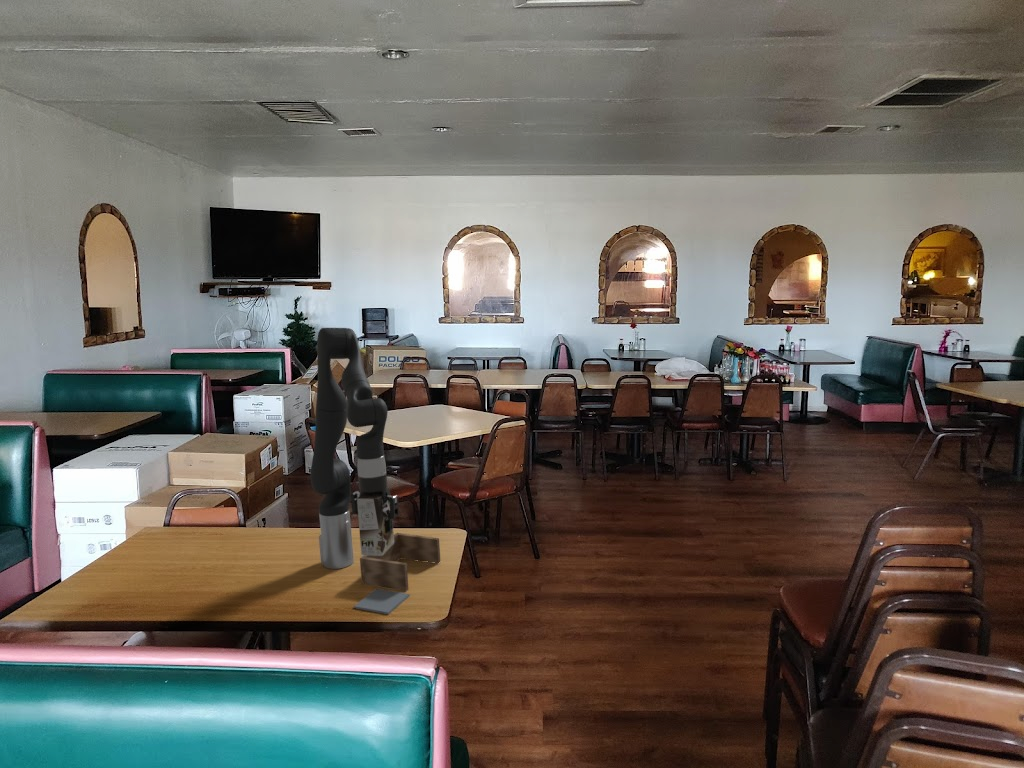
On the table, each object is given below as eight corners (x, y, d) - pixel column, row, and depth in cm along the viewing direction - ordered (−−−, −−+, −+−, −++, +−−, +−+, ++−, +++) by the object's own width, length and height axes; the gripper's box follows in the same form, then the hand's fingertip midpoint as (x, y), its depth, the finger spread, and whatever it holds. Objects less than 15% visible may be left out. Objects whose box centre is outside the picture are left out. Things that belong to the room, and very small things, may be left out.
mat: (354, 608, 189) (353, 606, 189) (376, 590, 199) (376, 588, 199) (388, 614, 185) (388, 612, 185) (409, 596, 195) (409, 594, 195)
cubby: (361, 583, 204) (359, 558, 202) (398, 556, 222) (397, 532, 221) (406, 591, 198) (404, 564, 196) (440, 562, 216) (439, 538, 215)
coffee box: (383, 556, 184) (378, 498, 182) (360, 555, 186) (355, 498, 183) (395, 542, 193) (391, 487, 191) (373, 542, 195) (369, 487, 192)
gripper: (341, 474, 185) (346, 533, 188) (387, 478, 180) (391, 538, 182) (357, 466, 192) (362, 523, 195) (402, 470, 186) (406, 528, 189)
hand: (376, 530), depth 189 cm, fingers closed on coffee box, 7 cm apart
